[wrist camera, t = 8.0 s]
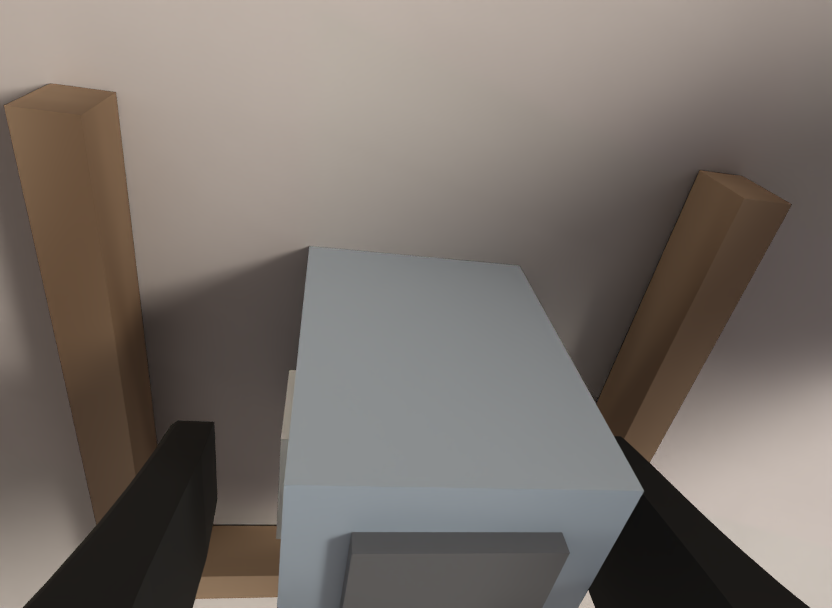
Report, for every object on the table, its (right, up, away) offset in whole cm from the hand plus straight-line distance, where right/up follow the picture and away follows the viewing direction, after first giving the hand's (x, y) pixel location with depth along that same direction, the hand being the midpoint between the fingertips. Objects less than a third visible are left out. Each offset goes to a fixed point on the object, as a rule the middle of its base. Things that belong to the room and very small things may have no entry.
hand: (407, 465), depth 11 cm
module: (0, +2, +2) cm, 3 cm away
